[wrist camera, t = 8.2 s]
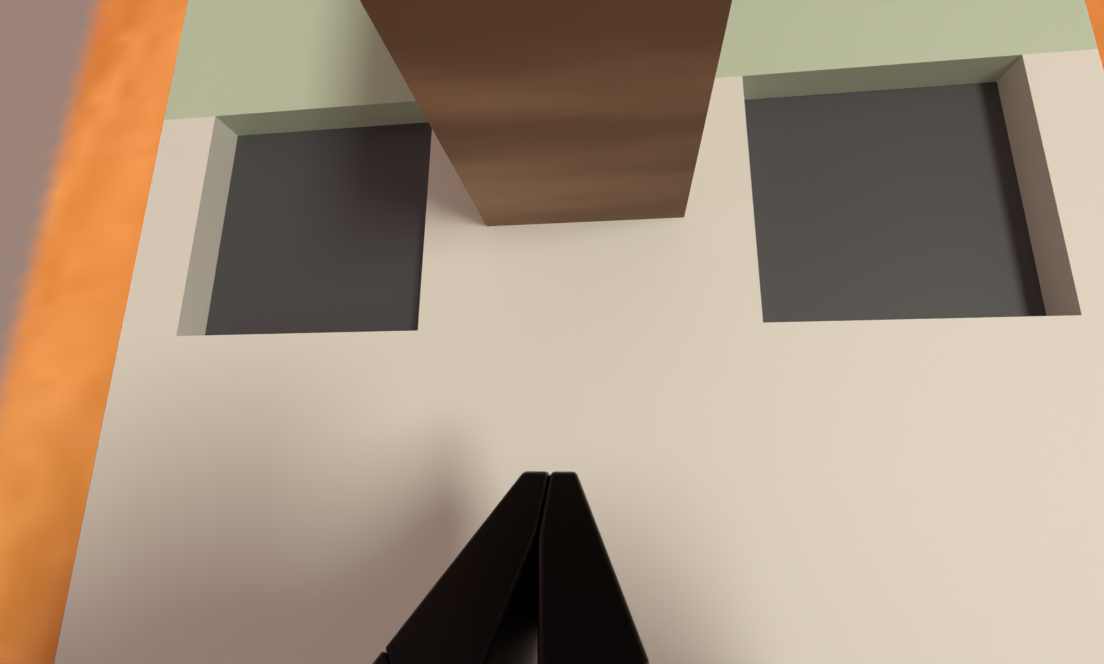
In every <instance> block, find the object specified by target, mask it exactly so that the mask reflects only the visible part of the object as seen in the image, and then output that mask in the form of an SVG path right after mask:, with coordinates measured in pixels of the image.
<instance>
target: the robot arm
mask: <svg viewBox="0 0 1104 664" xmlns="http://www.w3.org/2000/svg"><path fill="white" fill-rule="evenodd" d="M372 664H649V659H648V656H647V654H646V651H645V649H644V646H643V643H642V641H641V638H640V636H639V633H638V630H637V628H636V625H635V623H634V620H633V617H632V615H631V612H630V610H629V607H628V604H627V602H626V599H625V597H624V594H623V591H622V589H621V586H620V584H619V581H618V578H617V576H616V573H615V571H614V568H613V565H612V563H611V560H610V558H609V555H608V552H607V550H606V547H605V545H604V542H603V539H602V537H601V534H600V532H599V529H598V526H597V524H596V521H595V519H594V516H593V513H592V511H591V508H590V506H589V503H588V500H587V498H586V495H585V493H584V490H583V487H582V485H581V482H580V480H579V477H578V475H577V474H576V473H575V472H573V471H554V472H552V473H551V474H549V473H548V472H546V471H526V472H524V473H522V474H521V475H520V477H519V478H518V479H517V480H516V482H515V483H514V484H513V486H512V487H511V488H510V489H509V491H508V492H507V493H506V494H505V496H504V497H503V498H502V500H501V501H500V502H499V503H498V505H497V506H496V507H495V508H494V510H493V511H492V512H491V514H490V515H489V516H488V517H487V519H486V520H485V521H484V522H483V524H482V525H481V526H480V528H479V529H478V530H477V531H476V533H475V534H474V535H473V536H472V538H471V539H470V540H469V542H468V543H467V544H466V545H465V547H464V548H463V549H462V550H461V552H460V553H459V554H458V556H457V557H456V558H455V559H454V561H453V562H452V563H451V564H450V566H449V567H448V568H447V570H446V571H445V572H444V573H443V575H442V576H441V577H440V578H439V580H438V581H437V582H436V584H435V585H434V586H433V587H432V589H431V590H430V591H429V592H428V594H427V595H426V596H425V598H424V599H423V600H422V601H421V603H420V604H419V605H418V606H417V608H416V609H415V610H414V612H413V613H412V614H411V615H410V617H409V618H408V619H407V620H406V622H405V623H404V624H403V626H402V627H401V628H400V629H399V631H398V632H397V633H396V634H395V636H394V637H393V638H392V640H391V641H390V642H389V643H388V645H387V646H386V652H381V653H380V654H379V656H378V657H377V658H376V659H375V661H374V662H373V663H372Z"/></svg>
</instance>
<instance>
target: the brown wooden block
mask: <svg viewBox="0 0 1104 664" xmlns="http://www.w3.org/2000/svg"><path fill="white" fill-rule="evenodd" d="M360 1H361V3H362V5H363V7H364V9H365V10H366V12H367V14H368V16H369V17H370V19H371V21H372V23H373V25H374V26H375V28H376V30H377V32H378V33H379V35H380V37H381V39H382V41H383V42H384V44H385V46H386V48H387V49H388V51H389V53H390V55H391V57H392V58H393V60H394V62H395V64H396V65H397V67H398V69H399V71H400V73H401V74H402V76H403V78H404V80H405V81H406V83H407V85H408V87H409V89H410V90H411V92H412V94H413V96H414V98H415V99H416V101H417V103H418V105H419V106H420V108H421V110H422V112H423V114H424V115H425V117H426V119H427V121H428V122H429V124H430V126H431V128H432V130H433V131H434V133H435V135H436V137H437V138H438V140H439V142H440V144H441V146H442V147H443V149H444V151H445V153H446V154H447V156H448V158H449V160H450V162H451V163H452V165H453V167H454V169H455V170H456V172H457V174H458V176H459V178H460V179H461V181H462V183H463V185H464V187H465V188H466V190H467V192H468V194H469V195H470V197H471V199H472V201H473V203H474V204H475V206H476V208H477V210H478V211H479V213H480V215H481V217H482V219H483V220H484V222H485V224H486V226H507V225H529V224H551V223H573V222H594V221H616V220H638V219H660V218H682V217H684V216H685V211H686V207H687V202H688V198H689V193H690V189H691V184H692V180H693V175H694V171H695V166H696V162H697V157H698V153H699V148H700V144H701V139H702V135H703V130H704V126H705V121H706V116H707V112H708V107H709V103H710V98H711V94H712V89H713V85H714V80H715V76H716V71H717V67H718V62H719V58H720V53H721V49H722V44H723V40H724V35H725V31H726V26H727V22H728V17H729V12H730V8H731V3H732V0H360Z"/></svg>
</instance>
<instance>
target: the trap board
mask: <svg viewBox="0 0 1104 664" xmlns="http://www.w3.org/2000/svg"><path fill="white" fill-rule="evenodd" d="M526 471H546V472H548V473H549V474H551V473H552V472H554V471H573V472H575V473H576V474H577V475H578V477H579V480H580V482H581V485H582V487H583V490H584V493H585V495H586V498H587V500H588V503H589V506H590V508H591V511H592V513H593V516H594V519H595V521H596V524H597V526H598V529H599V532H600V534H601V537H602V539H603V542H604V545H605V547H606V550H607V552H608V555H609V558H610V560H611V563H612V565H613V568H614V571H615V573H616V576H617V578H618V581H619V584H620V586H621V589H622V591H623V594H624V597H625V599H626V602H627V604H628V607H629V610H630V612H631V615H632V617H633V620H634V623H635V625H636V628H637V630H638V633H639V636H640V638H641V641H642V643H643V646H644V649H645V651H646V654H647V656H648V659H649V664H1104V71H1103V67H1102V63H1101V59H1100V56H1099V52H1098V48H1097V45H1096V41H1095V37H1094V33H1093V30H1092V26H1091V22H1090V18H1089V15H1088V11H1087V7H1086V3H1085V0H732V3H731V8H730V12H729V17H728V22H727V26H726V31H725V35H724V40H723V44H722V49H721V53H720V58H719V62H718V67H717V71H716V76H715V80H714V85H713V89H712V94H711V98H710V103H709V107H708V112H707V116H706V121H705V126H704V130H703V135H702V139H701V144H700V148H699V153H698V157H697V162H696V166H695V171H694V175H693V180H692V184H691V189H690V193H689V198H688V202H687V207H686V211H685V216H684V217H682V218H660V219H638V220H616V221H594V222H573V223H551V224H529V225H507V226H486V224H485V222H484V220H483V219H482V217H481V215H480V213H479V211H478V210H477V208H476V206H475V204H474V203H473V201H472V199H471V197H470V195H469V194H468V192H467V190H466V188H465V187H464V185H463V183H462V181H461V179H460V178H459V176H458V174H457V172H456V170H455V169H454V167H453V165H452V163H451V162H450V160H449V158H448V156H447V154H446V153H445V151H444V149H443V147H442V146H441V144H440V142H439V140H438V138H437V137H436V135H435V133H434V131H433V130H432V128H431V126H430V124H429V122H428V121H427V119H426V117H425V115H424V114H423V112H422V110H421V108H420V106H419V105H418V103H417V101H416V99H415V98H414V96H413V94H412V92H411V90H410V89H409V87H408V85H407V83H406V81H405V80H404V78H403V76H402V74H401V73H400V71H399V69H398V67H397V65H396V64H395V62H394V60H393V58H392V57H391V55H390V53H389V51H388V49H387V48H386V46H385V44H384V42H383V41H382V39H381V37H380V35H379V33H378V32H377V30H376V28H375V26H374V25H373V23H372V21H371V19H370V17H369V16H368V14H367V12H366V10H365V9H364V7H363V5H362V3H361V1H360V0H188V5H187V10H186V15H185V19H184V24H183V29H182V34H181V39H180V44H179V49H178V54H177V59H176V64H175V69H174V74H173V79H172V84H171V89H170V93H169V98H168V103H167V108H166V113H165V118H164V123H163V128H162V133H161V138H160V143H159V148H158V153H157V158H156V163H155V167H154V172H153V177H152V182H151V187H150V192H149V197H148V202H147V207H146V212H145V217H144V222H143V227H142V232H141V237H140V241H139V246H138V251H137V256H136V261H135V266H134V271H133V276H132V281H131V286H130V291H129V296H128V301H127V306H126V311H125V315H124V320H123V325H122V330H121V335H120V340H119V345H118V350H117V355H116V360H115V365H114V370H113V375H112V380H111V385H110V389H109V394H108V399H107V404H106V409H105V414H104V419H103V424H102V429H101V434H100V439H99V444H98V449H97V454H96V459H95V463H94V468H93V473H92V478H91V483H90V488H89V493H88V498H87V503H86V508H85V513H84V518H83V523H82V528H81V533H80V537H79V542H78V547H77V552H76V557H75V562H74V567H73V572H72V577H71V582H70V587H69V592H68V597H67V602H66V607H65V611H64V616H63V621H62V626H61V631H60V636H59V641H58V646H57V651H56V656H55V661H54V664H372V663H373V662H374V661H375V659H376V658H377V657H378V656H379V654H380V653H381V652H386V646H387V645H388V643H389V642H390V641H391V640H392V638H393V637H394V636H395V634H396V633H397V632H398V631H399V629H400V628H401V627H402V626H403V624H404V623H405V622H406V620H407V619H408V618H409V617H410V615H411V614H412V613H413V612H414V610H415V609H416V608H417V606H418V605H419V604H420V603H421V601H422V600H423V599H424V598H425V596H426V595H427V594H428V592H429V591H430V590H431V589H432V587H433V586H434V585H435V584H436V582H437V581H438V580H439V578H440V577H441V576H442V575H443V573H444V572H445V571H446V570H447V568H448V567H449V566H450V564H451V563H452V562H453V561H454V559H455V558H456V557H457V556H458V554H459V553H460V552H461V550H462V549H463V548H464V547H465V545H466V544H467V543H468V542H469V540H470V539H471V538H472V536H473V535H474V534H475V533H476V531H477V530H478V529H479V528H480V526H481V525H482V524H483V522H484V521H485V520H486V519H487V517H488V516H489V515H490V514H491V512H492V511H493V510H494V508H495V507H496V506H497V505H498V503H499V502H500V501H501V500H502V498H503V497H504V496H505V494H506V493H507V492H508V491H509V489H510V488H511V487H512V486H513V484H514V483H515V482H516V480H517V479H518V478H519V477H520V475H521V474H522V473H524V472H526Z"/></svg>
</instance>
